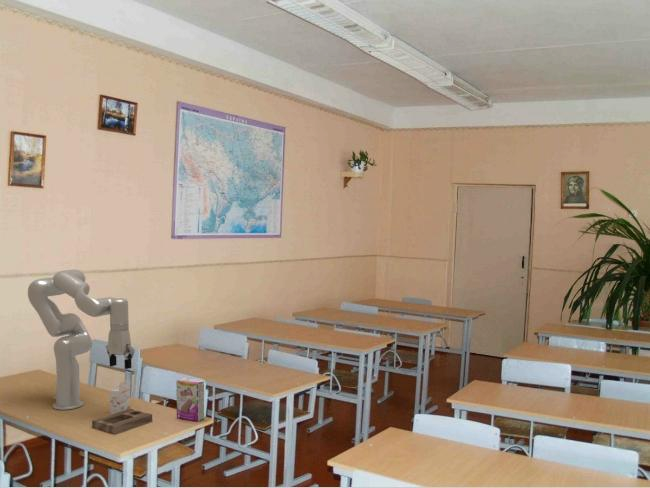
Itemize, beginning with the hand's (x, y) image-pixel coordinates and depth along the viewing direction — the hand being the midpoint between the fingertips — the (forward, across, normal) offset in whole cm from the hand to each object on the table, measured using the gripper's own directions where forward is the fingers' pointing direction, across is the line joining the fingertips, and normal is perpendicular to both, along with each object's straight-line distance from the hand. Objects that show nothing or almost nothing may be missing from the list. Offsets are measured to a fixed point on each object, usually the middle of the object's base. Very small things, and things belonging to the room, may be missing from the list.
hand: (120, 367), depth 275 cm
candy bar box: (+22, +28, +13) cm, 38 cm away
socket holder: (+21, +11, -8) cm, 25 cm away
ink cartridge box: (+21, -1, 0) cm, 21 cm away
